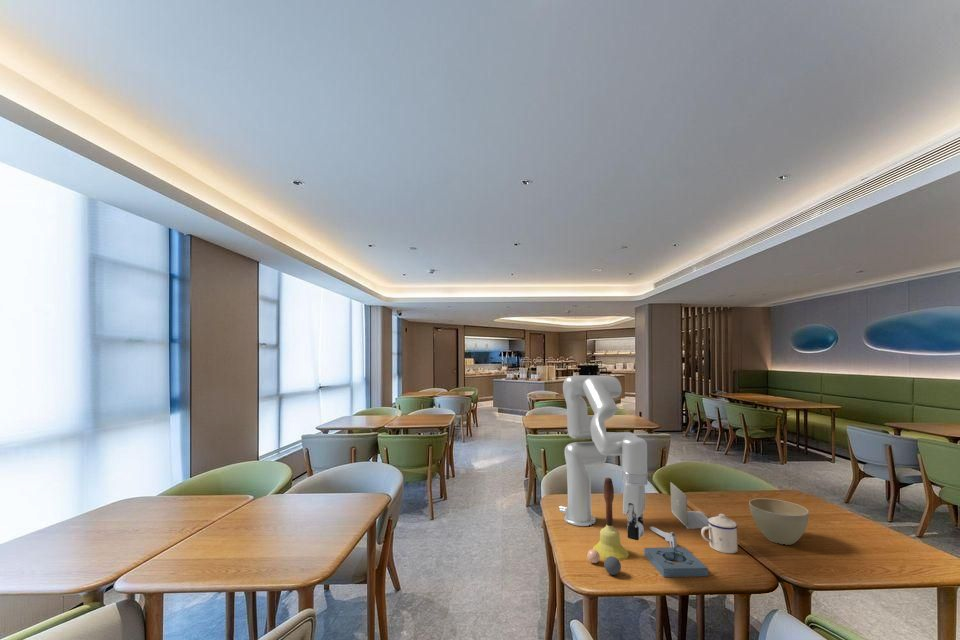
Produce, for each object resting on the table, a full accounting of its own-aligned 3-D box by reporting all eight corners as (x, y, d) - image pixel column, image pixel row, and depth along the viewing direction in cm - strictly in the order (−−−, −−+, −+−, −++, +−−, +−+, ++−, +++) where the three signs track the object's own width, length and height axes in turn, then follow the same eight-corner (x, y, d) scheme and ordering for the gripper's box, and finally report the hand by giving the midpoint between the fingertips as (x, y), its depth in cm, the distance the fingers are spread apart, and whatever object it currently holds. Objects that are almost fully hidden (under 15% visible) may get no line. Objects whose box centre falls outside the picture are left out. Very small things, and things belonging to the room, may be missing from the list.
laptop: (720, 530, 164) (718, 496, 165) (687, 529, 165) (685, 495, 166) (700, 513, 181) (699, 482, 182) (670, 512, 183) (669, 481, 184)
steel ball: (625, 538, 132) (625, 521, 132) (629, 532, 136) (629, 516, 136) (642, 542, 129) (641, 525, 130) (645, 536, 133) (645, 520, 134)
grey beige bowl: (802, 534, 159) (800, 502, 160) (817, 555, 143) (815, 518, 144) (747, 526, 167) (745, 495, 168) (755, 545, 150) (753, 510, 151)
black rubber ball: (602, 574, 130) (601, 558, 131) (607, 568, 134) (606, 551, 135) (618, 579, 127) (618, 562, 128) (623, 572, 132) (622, 556, 132)
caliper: (677, 553, 145) (676, 534, 145) (674, 553, 145) (673, 534, 145) (652, 528, 165) (651, 512, 166) (649, 528, 165) (648, 512, 166)
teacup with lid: (728, 542, 153) (727, 509, 154) (744, 554, 144) (742, 519, 145) (695, 542, 153) (694, 509, 154) (709, 554, 144) (707, 519, 145)
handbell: (628, 563, 137) (626, 485, 139) (590, 557, 142) (588, 481, 144) (629, 547, 149) (627, 475, 151) (593, 542, 153) (592, 472, 155)
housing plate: (663, 577, 129) (663, 568, 129) (644, 555, 143) (644, 547, 143) (708, 576, 129) (707, 567, 130) (684, 554, 143) (684, 547, 144)
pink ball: (585, 563, 137) (585, 550, 138) (589, 558, 141) (589, 546, 141) (597, 566, 135) (597, 553, 136) (601, 561, 138) (601, 549, 139)
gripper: (629, 468, 143) (630, 523, 142) (615, 482, 129) (615, 542, 128) (653, 472, 139) (653, 528, 138) (640, 487, 125) (641, 549, 124)
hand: (635, 534), depth 133 cm, fingers closed on steel ball, 5 cm apart
